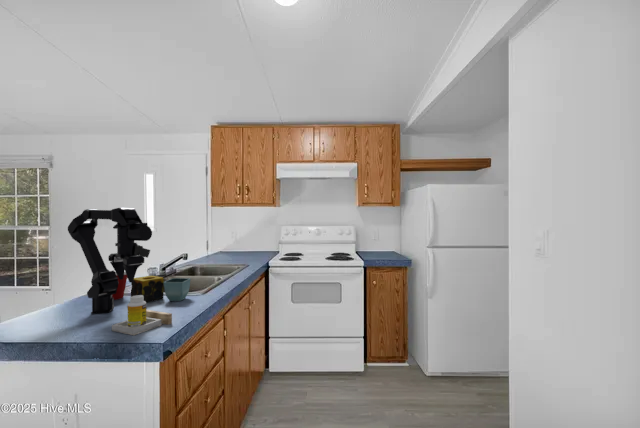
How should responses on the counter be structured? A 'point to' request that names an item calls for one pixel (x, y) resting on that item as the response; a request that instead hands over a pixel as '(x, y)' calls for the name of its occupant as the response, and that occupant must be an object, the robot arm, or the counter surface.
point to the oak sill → (160, 316)
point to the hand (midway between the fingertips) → (126, 280)
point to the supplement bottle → (136, 311)
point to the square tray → (124, 328)
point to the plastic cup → (120, 287)
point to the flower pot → (177, 288)
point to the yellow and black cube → (148, 288)
